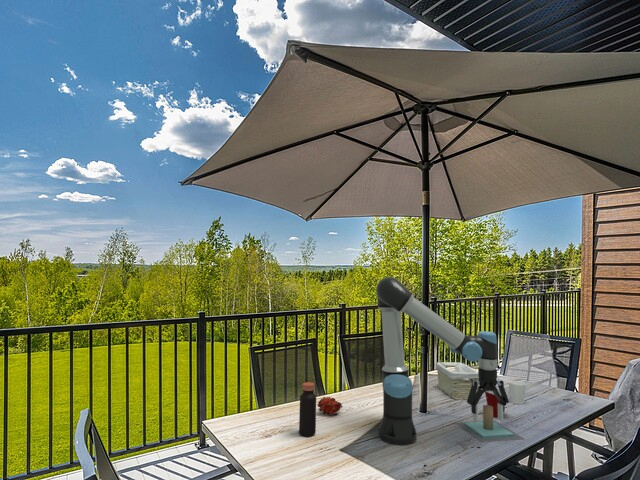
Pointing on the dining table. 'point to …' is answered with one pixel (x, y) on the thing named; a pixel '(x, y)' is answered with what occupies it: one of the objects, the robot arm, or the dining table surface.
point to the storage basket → (456, 379)
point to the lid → (488, 426)
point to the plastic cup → (493, 401)
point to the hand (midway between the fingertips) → (488, 420)
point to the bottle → (307, 411)
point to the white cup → (517, 392)
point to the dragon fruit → (329, 405)
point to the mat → (516, 437)
